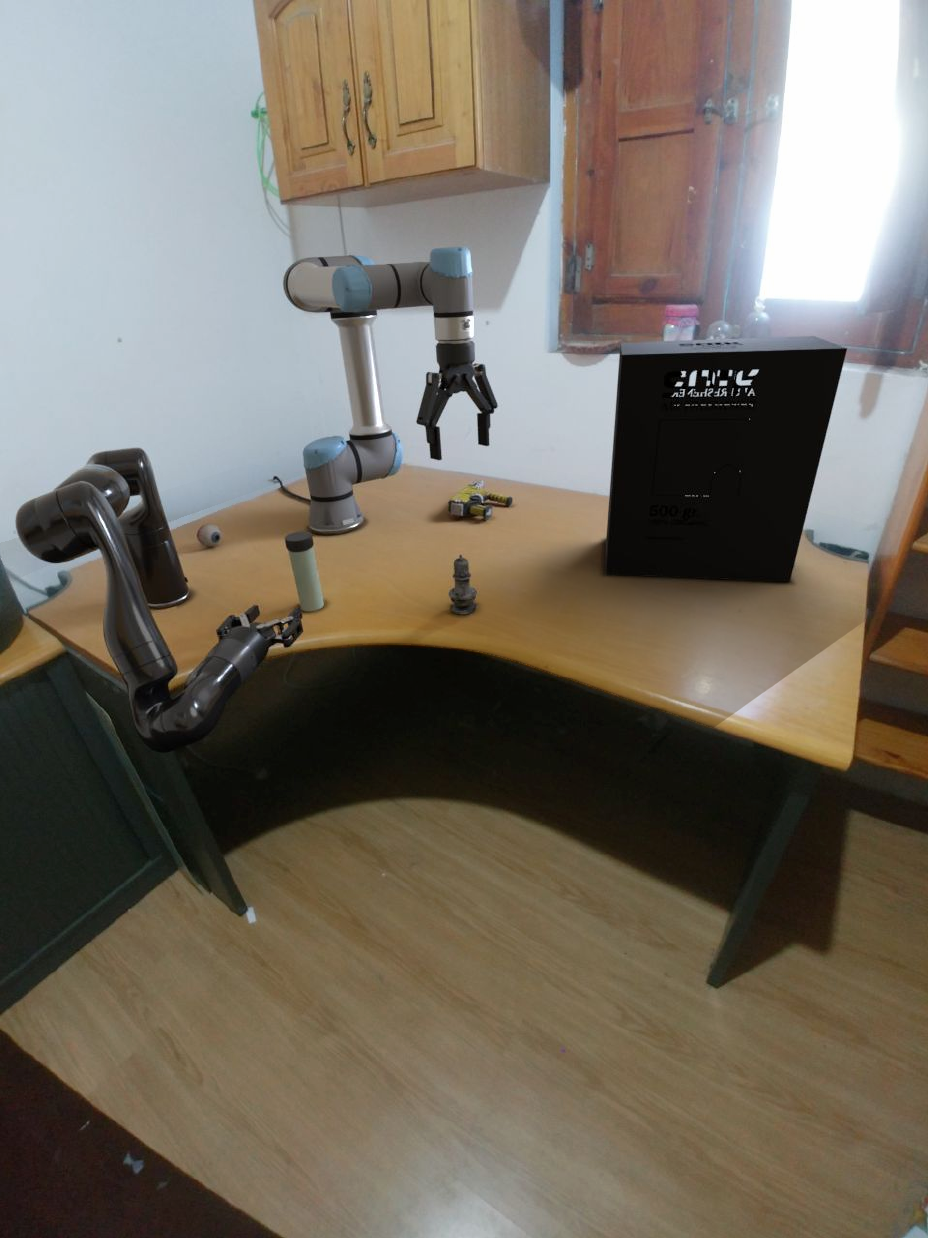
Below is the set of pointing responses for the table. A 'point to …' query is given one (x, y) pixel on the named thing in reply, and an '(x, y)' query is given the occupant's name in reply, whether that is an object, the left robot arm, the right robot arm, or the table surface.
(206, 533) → the eyeball
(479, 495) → the toy gun
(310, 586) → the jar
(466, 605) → the dark grey turned figure
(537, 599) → the table surface
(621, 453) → the cardboard box
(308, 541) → the lid
